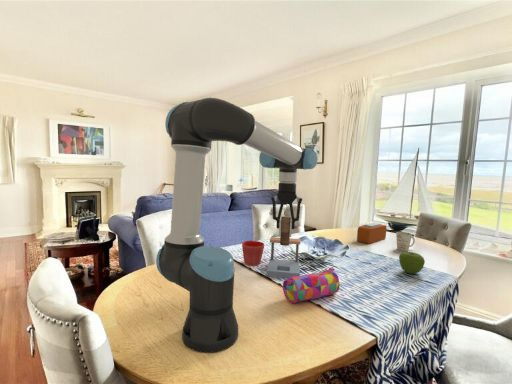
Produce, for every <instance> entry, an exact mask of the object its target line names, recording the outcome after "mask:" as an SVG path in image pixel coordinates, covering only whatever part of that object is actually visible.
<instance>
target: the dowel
mask: <svg viewBox="0 0 512 384" xmlns="http://www.w3.org/2000/svg"><path fill="white" fill-rule="evenodd" d="M280 221H281V237H279V238H280V243H279V245H280V246H285V247H288V246H290V244H289V240H290V239H291V237H289V236H290V221H292V219H291V216H281V217H280Z"/></svg>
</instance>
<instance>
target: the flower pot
mask: <svg viewBox="0 0 512 384" xmlns="http://www.w3.org/2000/svg"><path fill="white" fill-rule="evenodd" d="M241 248H242V256H243V261H244V264H245V265H247V266H250V267H251V266H259V265H260V264H261V262H262V258H263V253H264V248H265V243H264V242H262V241H259V240H245V241H243V242H242V243H241Z"/></svg>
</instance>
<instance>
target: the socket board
mask: <svg viewBox="0 0 512 384" xmlns="http://www.w3.org/2000/svg"><path fill="white" fill-rule="evenodd" d="M269 243H271V245H270V247H271V249H270V258H269V260H268V264H267V268H266V275H265V276H266V277H271V278H279V279H288V278H290V277H292V276H301V270H300V261H299V248H300V247H299V246H300V245H301V238H290V240H289V245H295V256H294V257H295V260H290V259H287V260H286V259H275V257H274V255H275V254H274V253H275V244H280V237H274V236H273V237H270V238H269Z"/></svg>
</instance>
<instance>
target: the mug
mask: <svg viewBox="0 0 512 384" xmlns="http://www.w3.org/2000/svg"><path fill="white" fill-rule="evenodd" d="M395 234H396V249H397V250H399V251H403V252H409V249H410V248H411V247H413V246H414V244H416V238H415V237H414V236H413V235H412V233H410V232H405V231H396V233H395ZM411 241H412V242H411ZM410 244H411V245H410Z"/></svg>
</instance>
